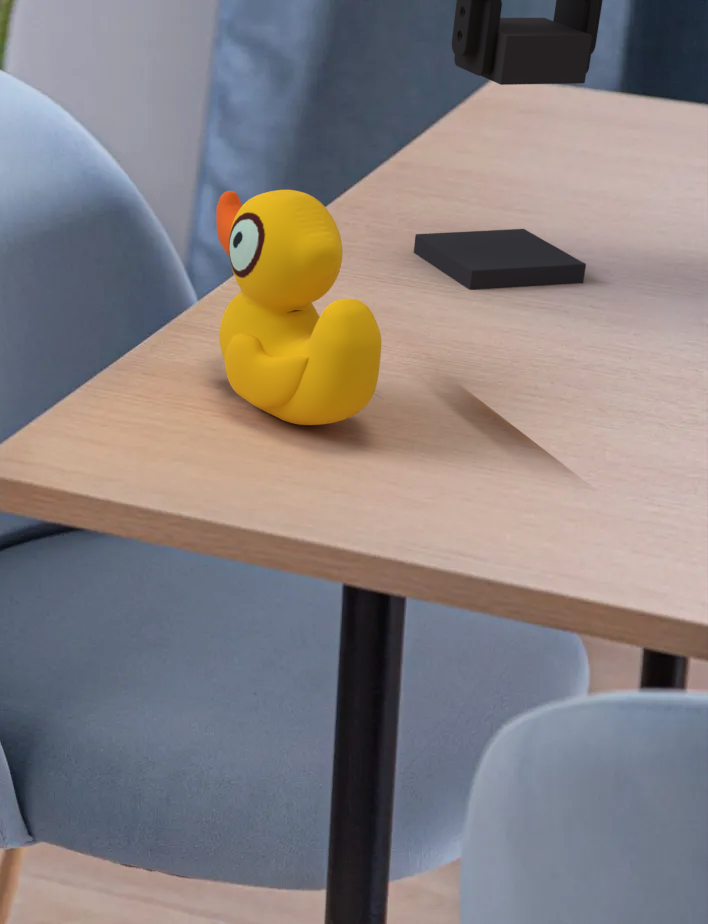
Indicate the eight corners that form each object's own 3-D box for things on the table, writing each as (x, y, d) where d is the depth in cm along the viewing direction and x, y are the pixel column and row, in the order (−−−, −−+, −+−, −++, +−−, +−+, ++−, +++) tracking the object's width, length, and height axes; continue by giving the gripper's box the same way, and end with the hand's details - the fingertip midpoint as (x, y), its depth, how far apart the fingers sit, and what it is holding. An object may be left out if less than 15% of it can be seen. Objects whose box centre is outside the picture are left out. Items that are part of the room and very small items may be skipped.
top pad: (537, 64, 97) (544, 17, 96) (585, 83, 92) (592, 34, 91) (456, 65, 95) (461, 17, 94) (500, 85, 91) (506, 35, 90)
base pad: (518, 269, 103) (524, 228, 102) (579, 307, 97) (586, 263, 96) (410, 276, 101) (415, 233, 100) (466, 314, 95) (472, 270, 94)
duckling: (165, 378, 84) (175, 171, 80) (257, 362, 87) (272, 161, 83) (305, 464, 76) (325, 237, 71) (403, 443, 78) (428, 223, 74)
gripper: (450, -317, 80) (406, 87, 88) (765, -297, 85) (697, 82, 93) (380, -320, 86) (345, 57, 94) (678, -302, 92) (621, 54, 100)
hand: (521, 66), depth 94 cm, fingers closed on top pad, 5 cm apart
